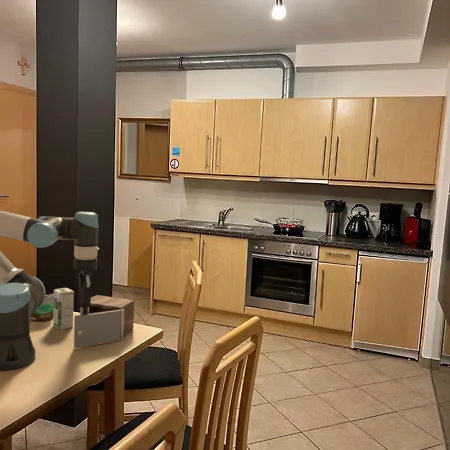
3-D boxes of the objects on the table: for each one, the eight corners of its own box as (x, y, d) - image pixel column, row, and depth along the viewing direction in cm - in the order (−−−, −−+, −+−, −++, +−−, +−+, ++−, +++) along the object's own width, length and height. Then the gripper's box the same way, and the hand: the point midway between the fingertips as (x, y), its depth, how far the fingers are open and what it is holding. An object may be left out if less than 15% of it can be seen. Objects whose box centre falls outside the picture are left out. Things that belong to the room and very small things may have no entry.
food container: (34, 325, 173) (35, 299, 172) (26, 321, 177) (26, 296, 176) (63, 318, 183) (63, 294, 182) (54, 314, 187) (55, 290, 186)
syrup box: (52, 326, 173) (53, 289, 172) (67, 323, 177) (68, 287, 176) (58, 330, 169) (59, 292, 168) (73, 327, 173) (74, 290, 172)
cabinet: (81, 333, 168) (82, 301, 166) (96, 324, 178) (96, 295, 176) (120, 339, 164) (121, 307, 162) (133, 330, 173) (134, 300, 172)
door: (122, 338, 164) (123, 309, 162) (124, 340, 162) (125, 311, 160) (73, 347, 154) (74, 315, 152) (75, 349, 152) (76, 317, 150)
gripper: (100, 261, 150) (98, 329, 153) (93, 253, 161) (91, 317, 164) (77, 262, 146) (75, 331, 149) (71, 254, 158) (70, 319, 161)
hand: (84, 324), depth 157 cm, fingers closed
